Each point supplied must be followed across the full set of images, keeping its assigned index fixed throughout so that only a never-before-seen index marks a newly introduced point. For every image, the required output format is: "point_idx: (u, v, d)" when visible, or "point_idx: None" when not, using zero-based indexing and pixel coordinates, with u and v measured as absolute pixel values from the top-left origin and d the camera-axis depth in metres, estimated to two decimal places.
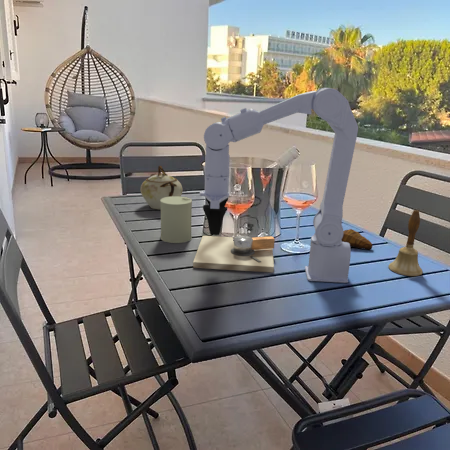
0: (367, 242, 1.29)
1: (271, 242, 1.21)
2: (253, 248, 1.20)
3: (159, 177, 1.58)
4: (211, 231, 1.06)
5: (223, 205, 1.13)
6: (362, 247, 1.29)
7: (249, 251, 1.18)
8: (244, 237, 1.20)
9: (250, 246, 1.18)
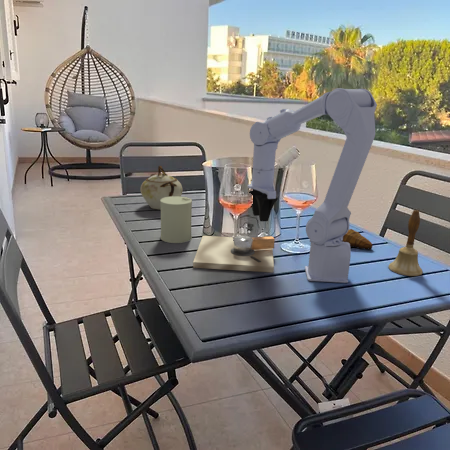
0: (367, 242, 1.29)
1: (271, 242, 1.21)
2: (253, 248, 1.20)
3: (159, 177, 1.58)
4: (262, 218, 1.20)
5: None
6: (362, 247, 1.29)
7: (249, 251, 1.18)
8: (244, 237, 1.20)
9: (250, 246, 1.18)
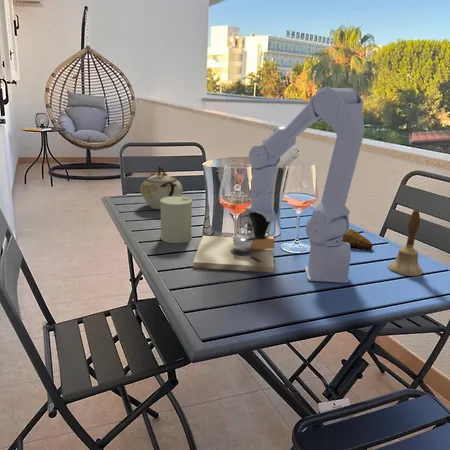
0: (367, 242, 1.29)
1: (271, 242, 1.21)
2: (253, 248, 1.20)
3: (159, 177, 1.58)
4: (257, 236, 1.24)
5: None
6: (362, 247, 1.29)
7: (249, 251, 1.18)
8: (244, 237, 1.20)
9: (250, 246, 1.18)
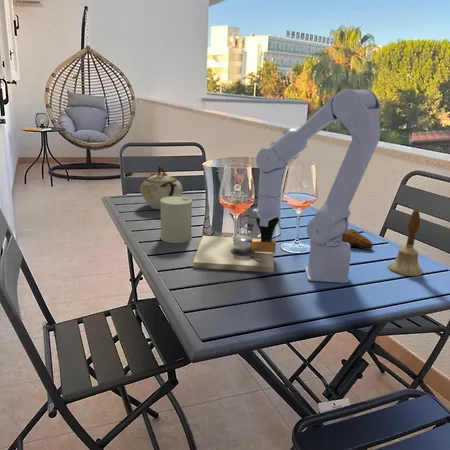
0: (367, 242, 1.29)
1: (272, 246, 1.18)
2: (252, 249, 1.19)
3: (159, 177, 1.58)
4: None
5: None
6: (362, 247, 1.29)
7: (246, 252, 1.18)
8: (245, 238, 1.20)
9: (247, 247, 1.17)
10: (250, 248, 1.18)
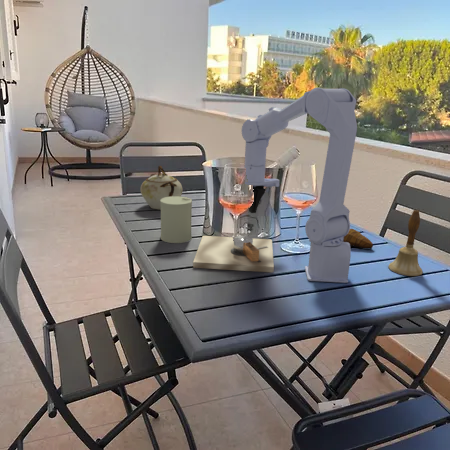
0: (367, 241, 1.29)
1: (250, 253, 1.12)
2: (243, 251, 1.17)
3: (159, 177, 1.58)
4: (249, 208, 1.28)
5: (256, 196, 1.25)
6: (362, 246, 1.29)
7: (236, 251, 1.18)
8: (246, 239, 1.19)
9: (237, 246, 1.18)
10: (241, 249, 1.17)
